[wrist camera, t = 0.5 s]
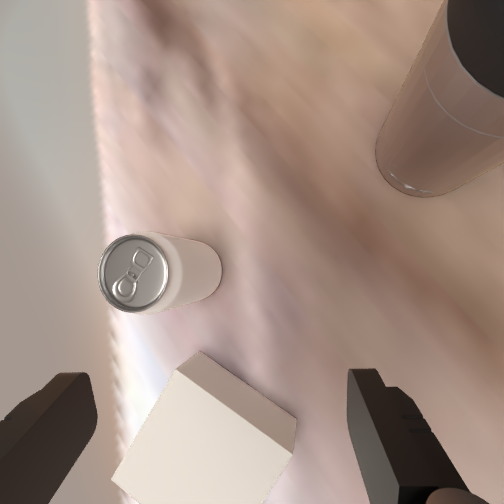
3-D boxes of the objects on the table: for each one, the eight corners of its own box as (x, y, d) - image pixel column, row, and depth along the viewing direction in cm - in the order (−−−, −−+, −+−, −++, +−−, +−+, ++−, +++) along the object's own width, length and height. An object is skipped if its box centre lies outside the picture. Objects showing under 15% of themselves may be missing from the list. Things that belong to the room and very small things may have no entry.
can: (156, 280, 35) (77, 288, 23) (185, 230, 35) (119, 212, 23) (204, 312, 34) (145, 336, 22) (234, 260, 34) (190, 257, 22)
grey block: (199, 351, 34) (175, 368, 28) (297, 419, 32) (293, 454, 26) (145, 443, 35) (110, 479, 29) (236, 516, 32) (219, 572, 26)
